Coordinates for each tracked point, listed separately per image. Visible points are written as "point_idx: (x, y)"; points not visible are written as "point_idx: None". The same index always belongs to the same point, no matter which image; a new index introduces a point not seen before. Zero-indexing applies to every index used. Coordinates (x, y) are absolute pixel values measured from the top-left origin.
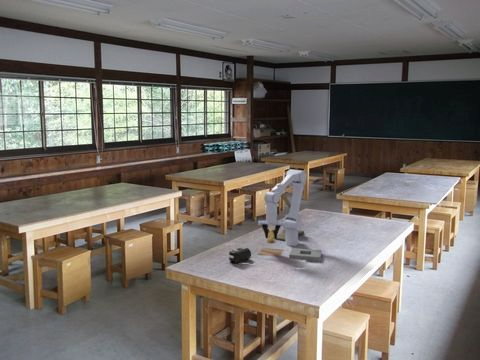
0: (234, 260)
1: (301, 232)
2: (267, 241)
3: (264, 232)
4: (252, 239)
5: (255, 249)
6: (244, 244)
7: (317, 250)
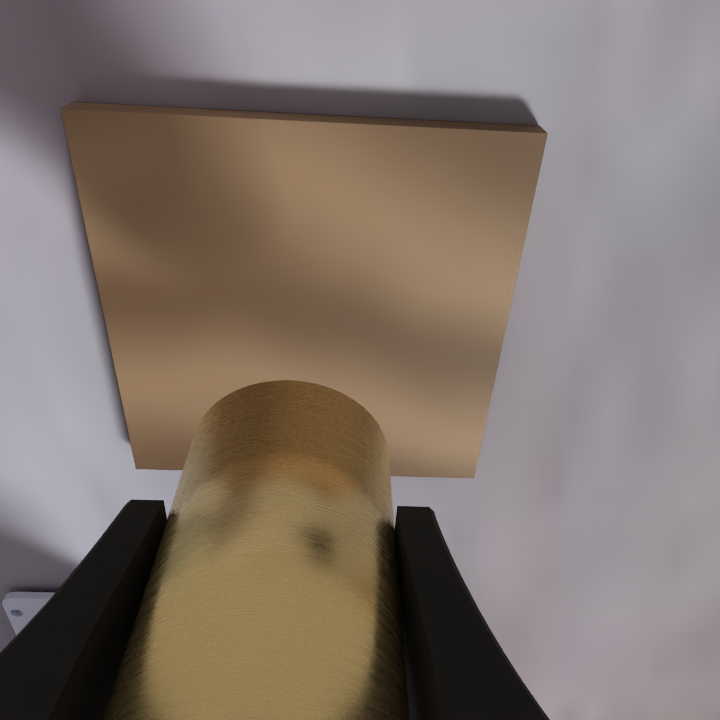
0: None
1: None
2: (375, 437)
3: (511, 665)
4: (592, 710)
5: (572, 445)
6: (712, 580)
7: None
